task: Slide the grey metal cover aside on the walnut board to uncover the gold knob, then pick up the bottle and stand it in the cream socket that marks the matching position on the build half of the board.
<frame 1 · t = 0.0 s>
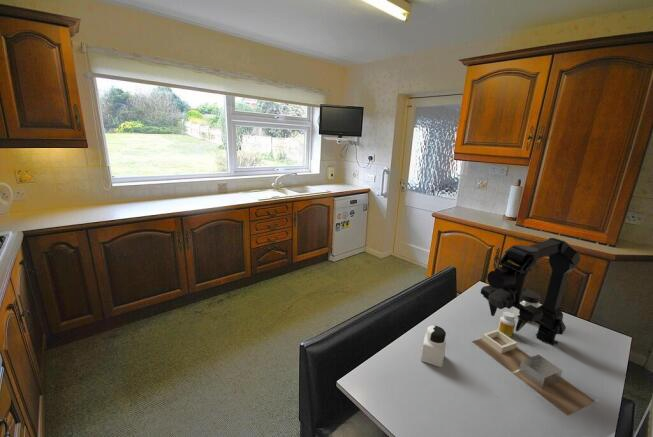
hand: (504, 323, 102), 15 cm above the table, fingers open, 9 cm apart
jar: (523, 317, 132), on the table
gold knob: (540, 375, 97), resting on layout board
socket: (498, 343, 111), resting on layout board
cover: (539, 371, 96), point 3 cm above the table, slide at 0.1 cm
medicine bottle: (431, 358, 104), on the table
layout board: (525, 370, 100), on the table
supplement bottle: (504, 335, 119), on the table
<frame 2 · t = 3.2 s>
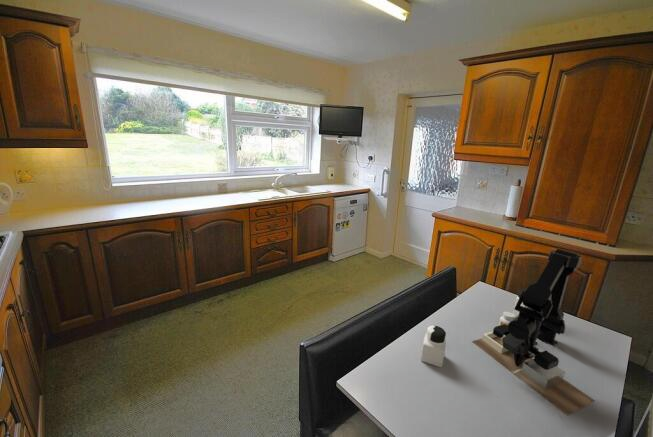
hand: (517, 365, 99), 2 cm above the table, fingers closed
cover: (542, 372, 95), point 3 cm above the table, slide at 0.9 cm, touching gripper
everything else where it was.
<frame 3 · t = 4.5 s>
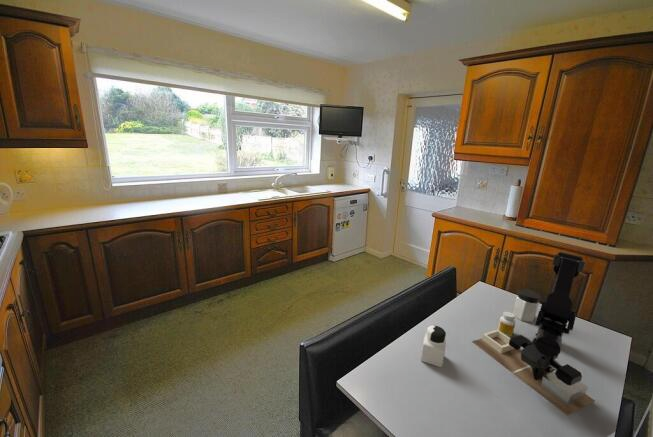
hand: (536, 379, 94), 2 cm above the table, fingers closed
cover: (563, 387, 90), point 3 cm above the table, slide at 7.0 cm, touching gripper
everything else where it was.
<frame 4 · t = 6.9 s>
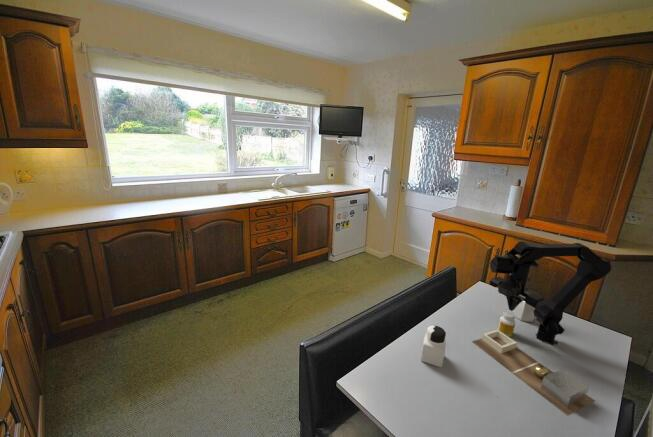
hand: (511, 310, 115), 12 cm above the table, fingers closed
cover: (563, 387, 89), point 3 cm above the table, slide at 7.2 cm
everything else where it was.
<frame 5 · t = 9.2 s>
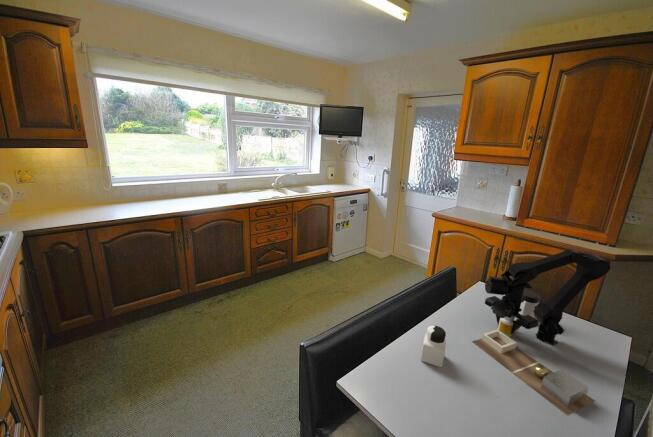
hand: (505, 329, 118), 3 cm above the table, fingers closed on supplement bottle, 5 cm apart
supplement bottle: (504, 335, 119), on the table, touching gripper
everything else where it was.
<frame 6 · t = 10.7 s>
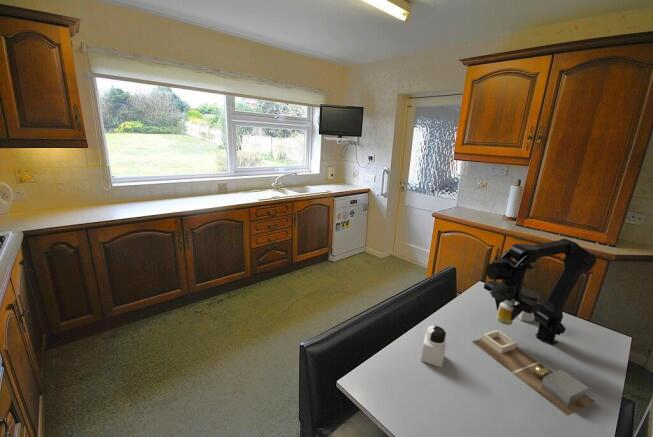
hand: (505, 315, 110), 12 cm above the table, fingers closed on supplement bottle, 5 cm apart
supplement bottle: (503, 321, 111), point 10 cm above the table, touching gripper
everything else where it was.
when the fingers open (5 cm above the table, at t = 12.6 s): supplement bottle drops 1 cm, resting on layout board.
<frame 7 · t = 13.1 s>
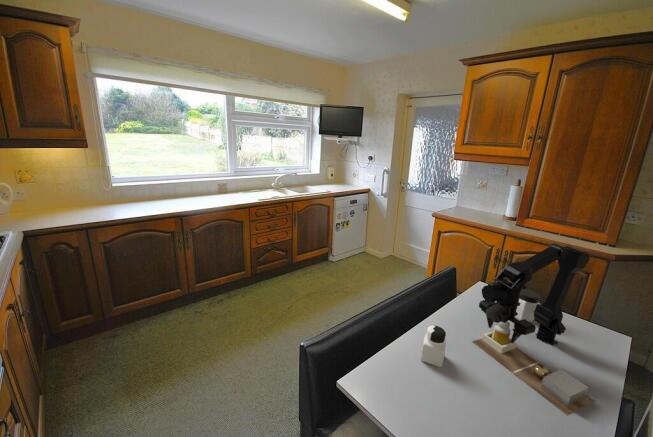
hand: (500, 334, 110), 5 cm above the table, fingers open, 9 cm apart
supplement bottle: (498, 344, 111), point 1 cm above the table, touching layout board
everything else where it was.
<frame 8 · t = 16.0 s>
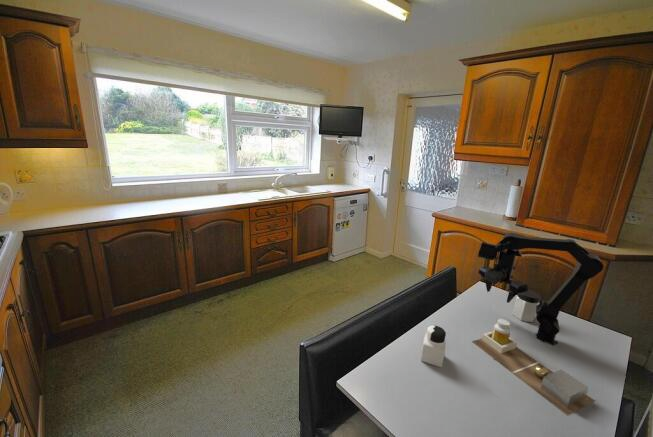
hand: (497, 296, 123), 12 cm above the table, fingers open, 9 cm apart
nothing on the table moved.
at the end: cover slide at 7.2 cm; supplement bottle 0.1 cm off-centre on the socket, point 0.0 cm above the socket's base; supplement bottle tilted 0° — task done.
